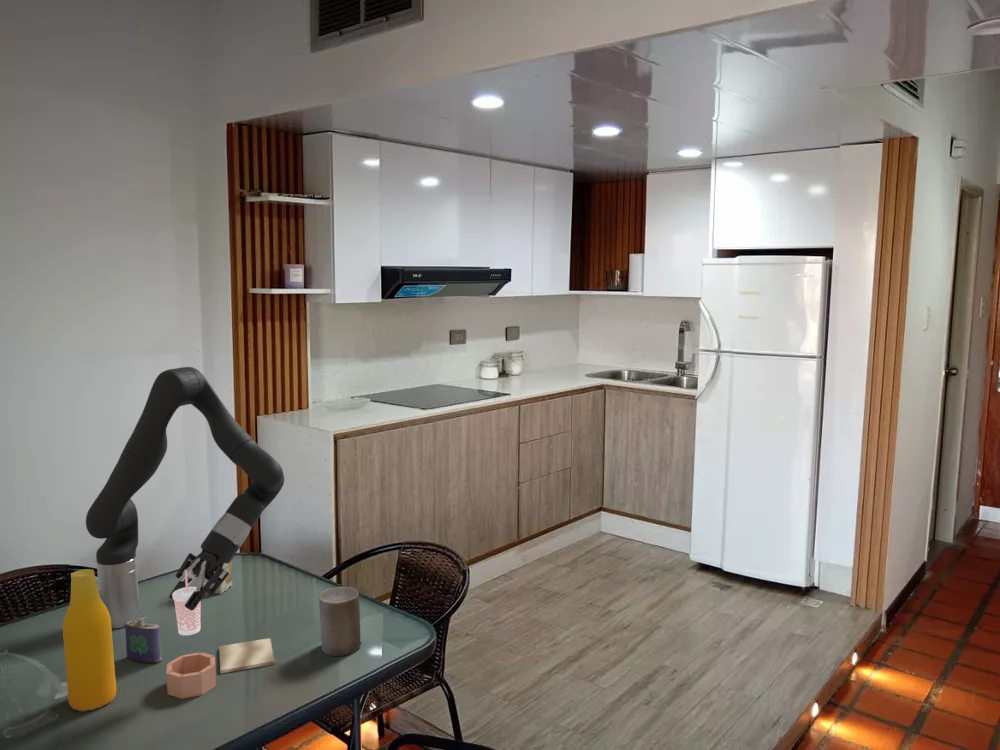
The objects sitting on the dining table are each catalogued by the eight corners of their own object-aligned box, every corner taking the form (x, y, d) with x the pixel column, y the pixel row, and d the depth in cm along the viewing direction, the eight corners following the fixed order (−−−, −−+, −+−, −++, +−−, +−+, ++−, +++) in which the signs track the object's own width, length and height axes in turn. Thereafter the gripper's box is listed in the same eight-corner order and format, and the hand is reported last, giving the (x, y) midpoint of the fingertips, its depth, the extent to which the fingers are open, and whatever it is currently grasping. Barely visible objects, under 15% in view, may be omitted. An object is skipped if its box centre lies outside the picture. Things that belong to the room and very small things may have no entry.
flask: (164, 659, 185) (161, 617, 183) (155, 666, 182) (152, 623, 181) (131, 654, 188) (128, 612, 186) (122, 660, 185) (119, 618, 183)
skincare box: (221, 594, 221) (219, 553, 219) (207, 593, 222) (205, 552, 220) (233, 585, 227) (231, 545, 225) (220, 584, 228) (217, 544, 226)
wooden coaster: (220, 673, 179) (220, 670, 179) (219, 649, 190) (219, 646, 190) (274, 664, 183) (274, 661, 183) (270, 641, 194) (270, 638, 194)
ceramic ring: (167, 701, 168) (165, 679, 167) (169, 678, 177) (167, 657, 176) (216, 692, 171) (215, 671, 170) (215, 670, 180) (214, 649, 180)
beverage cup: (186, 639, 168) (182, 578, 166) (168, 632, 171) (164, 572, 169) (210, 628, 173) (206, 568, 171) (192, 621, 176) (189, 563, 174)
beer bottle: (66, 716, 162) (55, 584, 158) (71, 694, 170) (60, 568, 166) (115, 706, 166) (106, 577, 161) (117, 685, 174) (108, 561, 170)
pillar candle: (368, 642, 194) (366, 584, 192) (345, 660, 185) (343, 600, 183) (336, 634, 198) (334, 578, 196) (312, 651, 189) (309, 593, 187)
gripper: (198, 522, 179) (151, 587, 172) (233, 537, 170) (185, 606, 163) (220, 538, 184) (175, 602, 177) (255, 553, 175) (209, 621, 168)
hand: (180, 604), depth 170 cm, fingers closed on beverage cup, 6 cm apart
